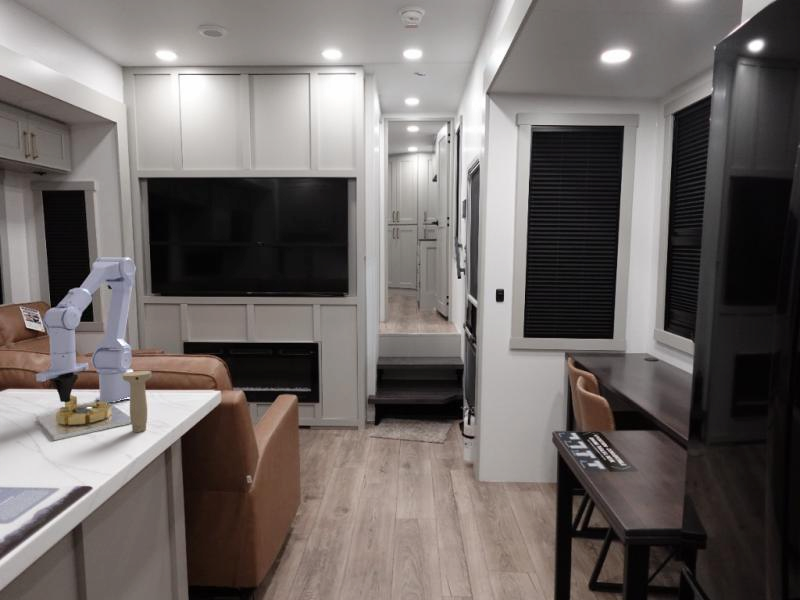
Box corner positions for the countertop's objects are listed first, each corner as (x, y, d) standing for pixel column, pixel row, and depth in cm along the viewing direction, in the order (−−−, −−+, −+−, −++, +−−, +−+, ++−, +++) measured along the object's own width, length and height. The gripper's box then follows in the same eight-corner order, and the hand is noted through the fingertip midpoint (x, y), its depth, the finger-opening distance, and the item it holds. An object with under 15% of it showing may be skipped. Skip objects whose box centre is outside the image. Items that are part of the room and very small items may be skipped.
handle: (153, 431, 128) (151, 374, 126) (124, 435, 125) (122, 376, 124) (153, 425, 132) (151, 370, 131) (125, 429, 129) (123, 372, 128)
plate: (110, 406, 148) (109, 393, 148) (134, 422, 134) (133, 408, 134) (36, 420, 135) (35, 406, 135) (54, 440, 121) (53, 424, 121)
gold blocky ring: (119, 414, 137) (119, 397, 136) (73, 427, 126) (72, 409, 126) (90, 406, 144) (89, 390, 143) (44, 418, 133) (43, 401, 133)
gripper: (73, 346, 143) (75, 393, 144) (25, 356, 129) (28, 408, 130) (94, 348, 141) (96, 395, 142) (48, 357, 127) (50, 410, 128)
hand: (65, 401), depth 136 cm, fingers closed, pressing on gold blocky ring
